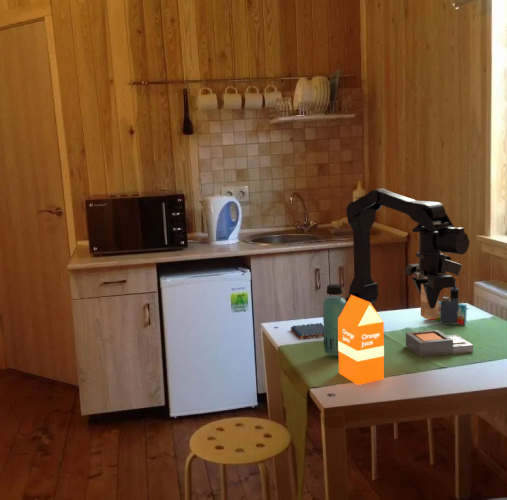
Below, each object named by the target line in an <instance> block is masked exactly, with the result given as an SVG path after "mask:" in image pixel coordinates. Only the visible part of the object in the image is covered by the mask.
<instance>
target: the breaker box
mask: <svg viewBox="0 0 507 500" xmlns="http://www.w3.org/2000/svg"><path fill="white" fill-rule="evenodd" d="M428 333H435V334H436V335H438V336H439V337H441V338H442V339H441V340H430V341H421V340H420V339H419V338H417V337H416V336H415V335H418V334H428ZM405 347H406V348H408V349H409V350H410V351H411V352H413V354H415V355H416V356H417V357H419V358H428V357H429V358H430V357H437V356H446V355H457V354H466V353H467V354H468V353H474V344H472V343H471V342H470V341H468V340H466V339H464V338H463V337H461V336H459V335H458V334H449V335H447V334H445V333H443V332H442V331H440V330H439V329H429V330H420V331H410V332H407V331H406V333H405Z"/></svg>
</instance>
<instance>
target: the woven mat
mask: <svg viewBox="0 0 507 500" xmlns="http://www.w3.org/2000/svg"><path fill="white" fill-rule="evenodd" d="M290 330H291V332H293V333H294V334H295V335H296V336H297V337H298V339H299V340H301V339H302V340H304V339H305V340H307V339H309V340H310V339H314V338H315V339H318V338H320V339H321V338H324V336H323V335H324V332H323V330H324V324H323V323H322V322H320V323H318V322H316V323H309V324H308V323H307V324H300V325H299V324H297V325H292V326H290Z"/></svg>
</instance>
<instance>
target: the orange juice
mask: <svg viewBox="0 0 507 500" xmlns="http://www.w3.org/2000/svg"><path fill="white" fill-rule="evenodd" d="M384 323H385V322H384V321H383V319H382V318H381V316H380V314H379V313H378V312H377V310H376V309H375V307H373V306H372V304H371V303H370V302H368V301H365V300H363V299H360V298H358V297H355V296H353V295H351V296H350V298H349V300H348V302H347V304H346V305H345V307H344V309H343V311H342V313H341V315H340V316H339V318H338V351H339V355H338V373H339V374H340V375H341V376H343V377H344V378H346V379H347V380H349V381H351V382H353V383H354V384H356V385H357V386H360V385H363V384H368V383H372V382H377V381H381V380H385V373H384V372H385V370H384V368H385V367H384V366H385V365H384V364H385V363H384V360H385V358H384V357H385V342H384V337H385V336H384V335H385V333H384V331H385V329H384V327H385V326H384V325H385V324H384Z"/></svg>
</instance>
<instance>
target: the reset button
mask: <svg viewBox="0 0 507 500" xmlns="http://www.w3.org/2000/svg"><path fill="white" fill-rule="evenodd" d="M415 336H416V337H417V338H419V339H420V340H421V341H430V340H441V339H442V338H441V337H439V336H438V335H436V334H435V333H428V334H418V335H415Z"/></svg>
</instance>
